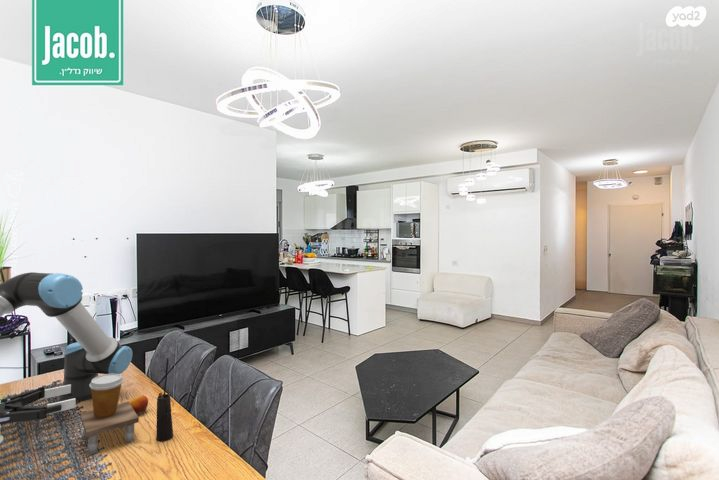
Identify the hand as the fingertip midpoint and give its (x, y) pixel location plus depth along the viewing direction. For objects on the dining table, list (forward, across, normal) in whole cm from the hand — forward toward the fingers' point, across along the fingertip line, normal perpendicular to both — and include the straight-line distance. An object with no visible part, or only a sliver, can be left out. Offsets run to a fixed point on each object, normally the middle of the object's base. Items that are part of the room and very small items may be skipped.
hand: (73, 395), depth 112 cm
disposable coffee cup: (+9, -2, -10) cm, 13 cm away
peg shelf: (+10, 0, -17) cm, 20 cm away
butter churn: (+24, +11, -18) cm, 32 cm away
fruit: (+21, -14, -18) cm, 31 cm away
